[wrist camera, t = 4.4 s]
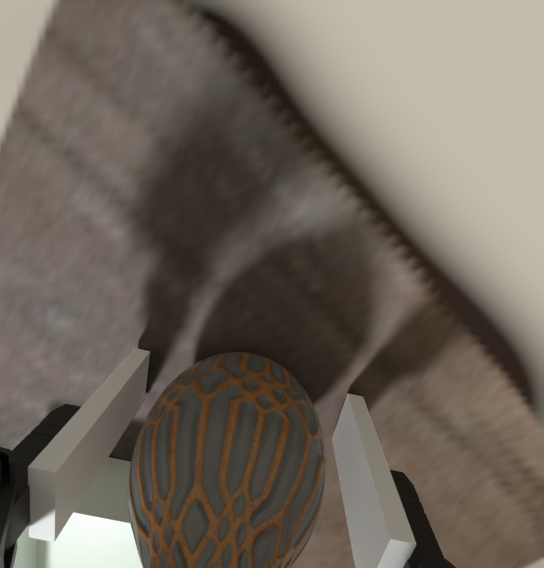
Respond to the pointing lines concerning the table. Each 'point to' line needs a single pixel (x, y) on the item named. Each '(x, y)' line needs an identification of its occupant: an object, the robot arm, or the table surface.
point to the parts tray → (90, 529)
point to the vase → (227, 468)
